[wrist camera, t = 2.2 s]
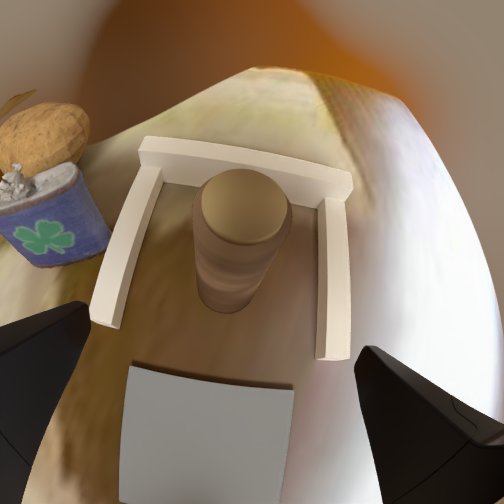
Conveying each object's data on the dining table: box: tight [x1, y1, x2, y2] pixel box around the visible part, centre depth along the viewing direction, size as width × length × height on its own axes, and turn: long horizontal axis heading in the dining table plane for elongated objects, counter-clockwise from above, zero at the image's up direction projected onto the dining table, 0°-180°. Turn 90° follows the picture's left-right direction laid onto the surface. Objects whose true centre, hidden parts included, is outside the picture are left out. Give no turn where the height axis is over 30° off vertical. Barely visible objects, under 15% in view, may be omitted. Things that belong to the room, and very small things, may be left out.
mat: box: [119, 366, 295, 504], centre depth 15 cm, size 12×12×1 cm
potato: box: [0, 102, 91, 178], centre depth 20 cm, size 10×14×8 cm
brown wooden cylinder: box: [192, 169, 292, 314], centre depth 16 cm, size 4×4×11 cm
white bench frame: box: [89, 136, 354, 361], centre depth 20 cm, size 16×19×4 cm
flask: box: [0, 162, 112, 269], centre depth 15 cm, size 9×3×11 cm, turn 105°
